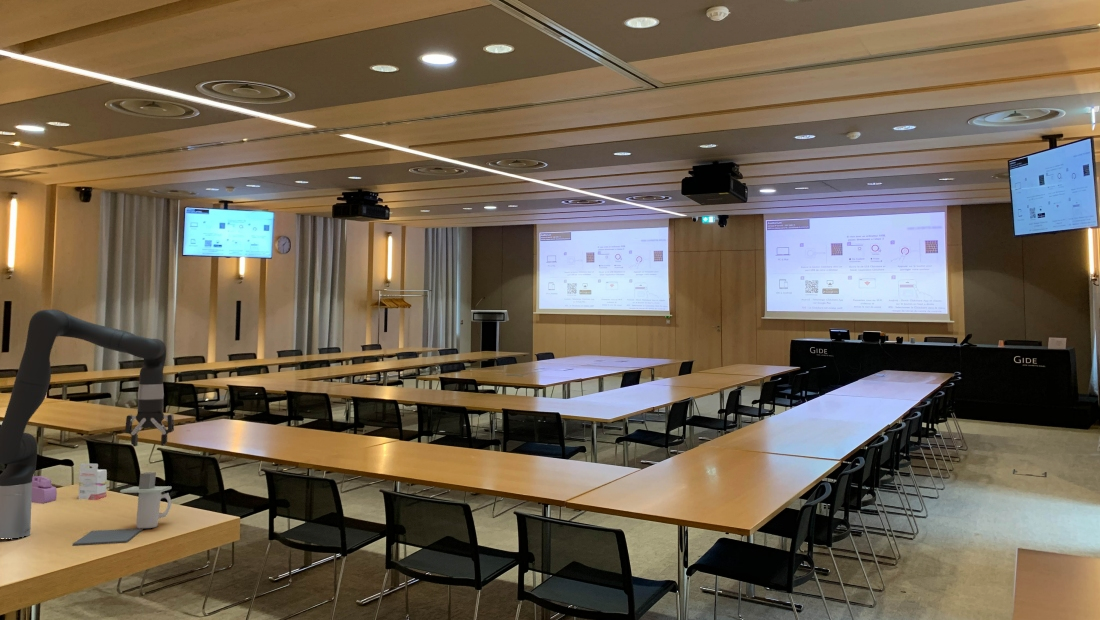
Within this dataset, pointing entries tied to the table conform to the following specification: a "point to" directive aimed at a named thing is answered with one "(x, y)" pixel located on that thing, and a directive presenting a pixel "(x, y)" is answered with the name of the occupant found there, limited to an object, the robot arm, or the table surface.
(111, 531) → the rubber mat
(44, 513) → the table surface
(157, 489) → the cover plate
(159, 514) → the mug
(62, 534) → the table surface
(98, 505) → the table surface
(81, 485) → the ink cartridge box
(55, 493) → the toy telephone
